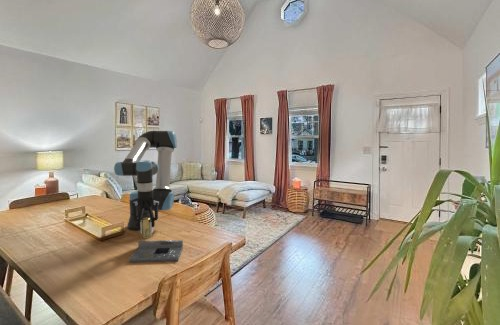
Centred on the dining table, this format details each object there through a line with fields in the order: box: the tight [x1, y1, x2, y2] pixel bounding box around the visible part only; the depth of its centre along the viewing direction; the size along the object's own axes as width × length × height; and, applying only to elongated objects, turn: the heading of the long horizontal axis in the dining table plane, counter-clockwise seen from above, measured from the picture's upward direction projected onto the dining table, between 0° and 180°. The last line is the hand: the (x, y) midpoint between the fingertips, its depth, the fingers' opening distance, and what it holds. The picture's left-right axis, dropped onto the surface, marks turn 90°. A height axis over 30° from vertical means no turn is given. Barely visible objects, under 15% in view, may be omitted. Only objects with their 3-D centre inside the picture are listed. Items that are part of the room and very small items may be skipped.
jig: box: [128, 239, 184, 263], centre depth 126 cm, size 22×14×4 cm, turn 95°
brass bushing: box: [142, 217, 153, 239], centre depth 137 cm, size 4×4×10 cm
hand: (146, 232), depth 137 cm, fingers closed on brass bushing, 4 cm apart
